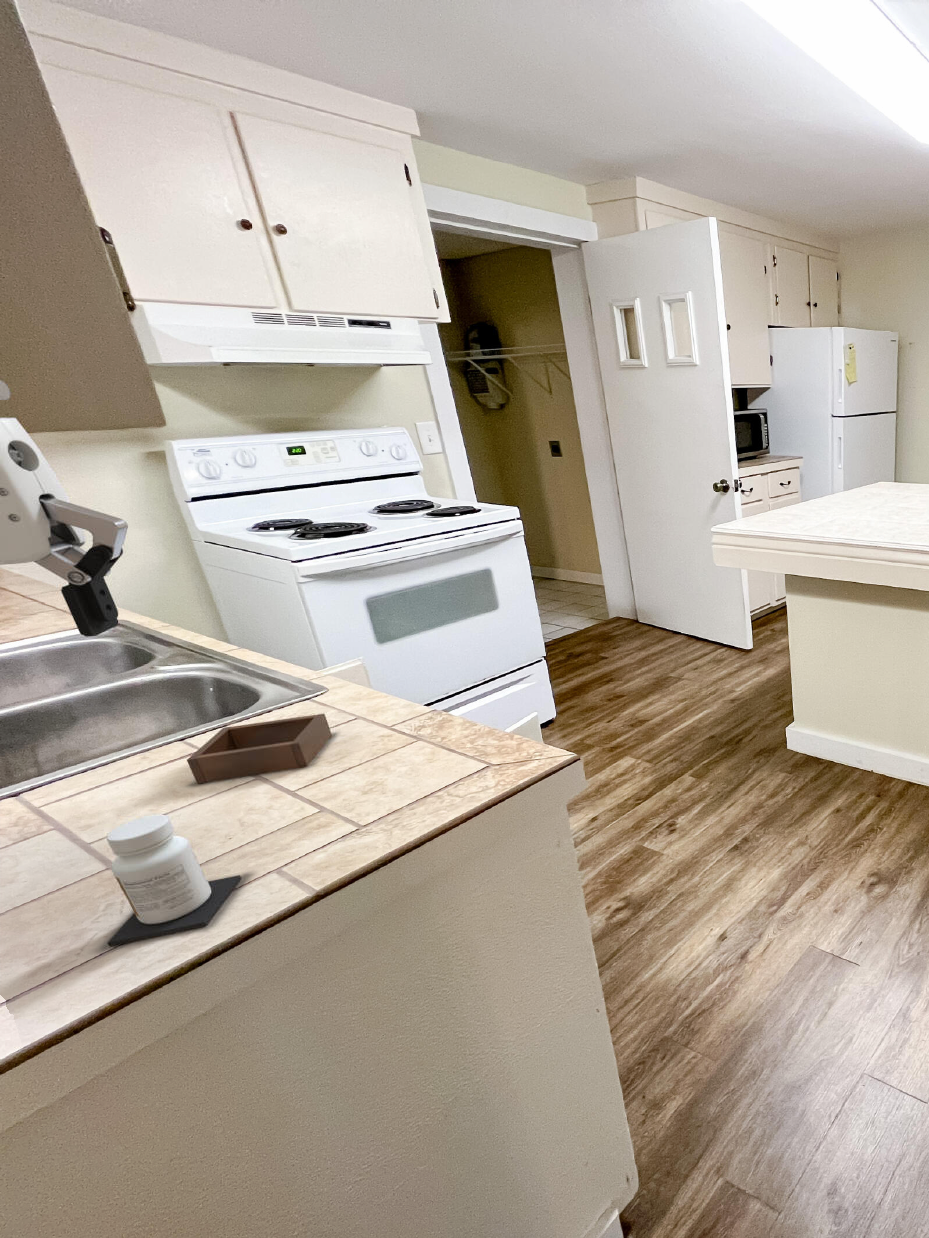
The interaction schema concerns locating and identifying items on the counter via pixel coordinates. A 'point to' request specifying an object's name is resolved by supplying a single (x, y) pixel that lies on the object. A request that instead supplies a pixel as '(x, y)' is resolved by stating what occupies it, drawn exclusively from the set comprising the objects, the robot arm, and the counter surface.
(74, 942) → the counter surface
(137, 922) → the coaster
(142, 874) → the pill bottle
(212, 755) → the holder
